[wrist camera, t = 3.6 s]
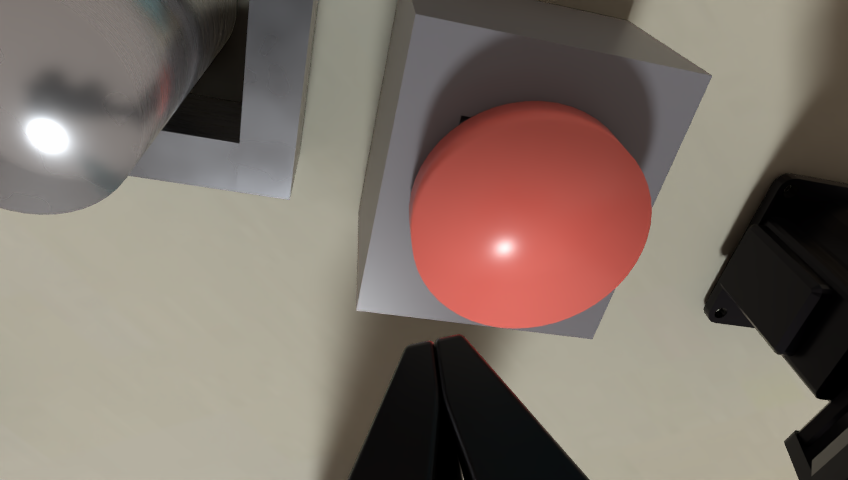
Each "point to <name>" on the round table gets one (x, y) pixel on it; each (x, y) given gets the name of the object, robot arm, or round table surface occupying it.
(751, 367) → the round table surface
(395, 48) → the block
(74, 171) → the shiny silver cylinder
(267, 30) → the socket
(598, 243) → the release button
